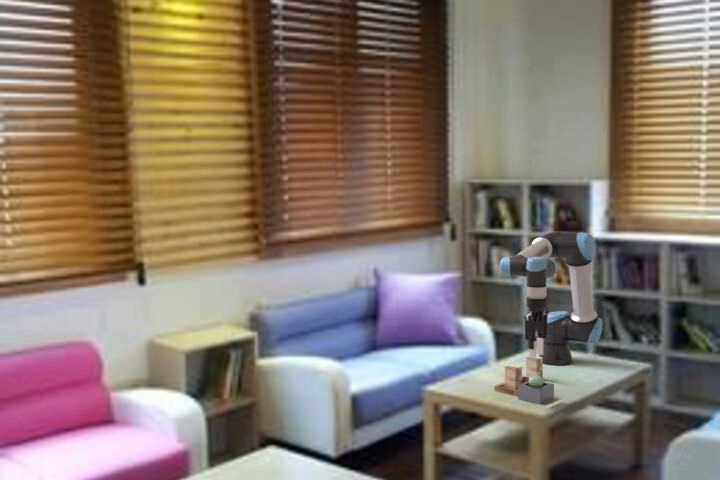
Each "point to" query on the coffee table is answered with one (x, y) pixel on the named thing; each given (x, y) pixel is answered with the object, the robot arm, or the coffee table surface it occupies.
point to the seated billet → (513, 376)
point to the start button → (536, 381)
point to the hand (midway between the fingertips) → (536, 355)
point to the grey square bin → (536, 393)
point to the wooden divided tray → (502, 388)
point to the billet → (534, 366)
